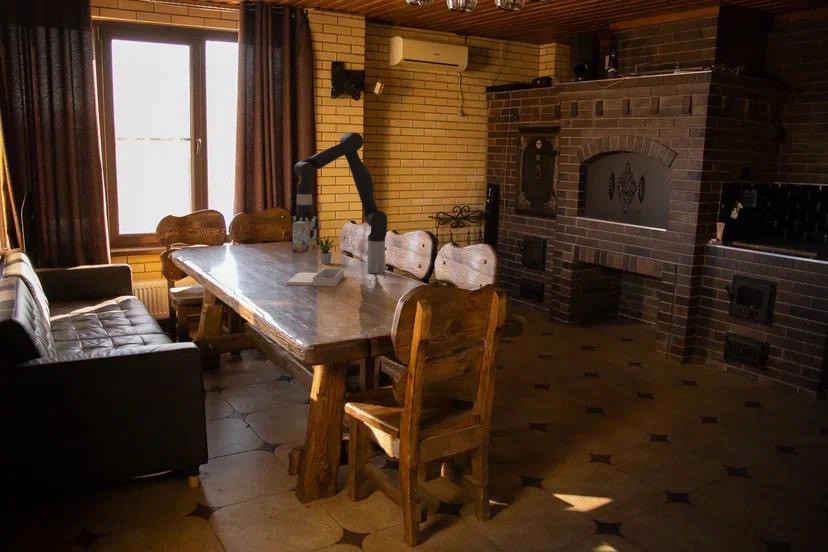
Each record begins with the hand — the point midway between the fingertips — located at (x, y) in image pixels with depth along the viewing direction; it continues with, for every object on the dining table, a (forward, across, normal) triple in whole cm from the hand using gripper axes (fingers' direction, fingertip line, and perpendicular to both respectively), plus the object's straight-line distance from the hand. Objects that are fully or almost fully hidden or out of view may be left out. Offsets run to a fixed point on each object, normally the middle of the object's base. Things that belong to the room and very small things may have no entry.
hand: (304, 237), depth 343 cm
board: (+21, 0, 0) cm, 21 cm away
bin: (+21, -12, 0) cm, 25 cm away
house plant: (+22, -2, -51) cm, 55 cm away
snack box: (+7, 0, 0) cm, 7 cm away
